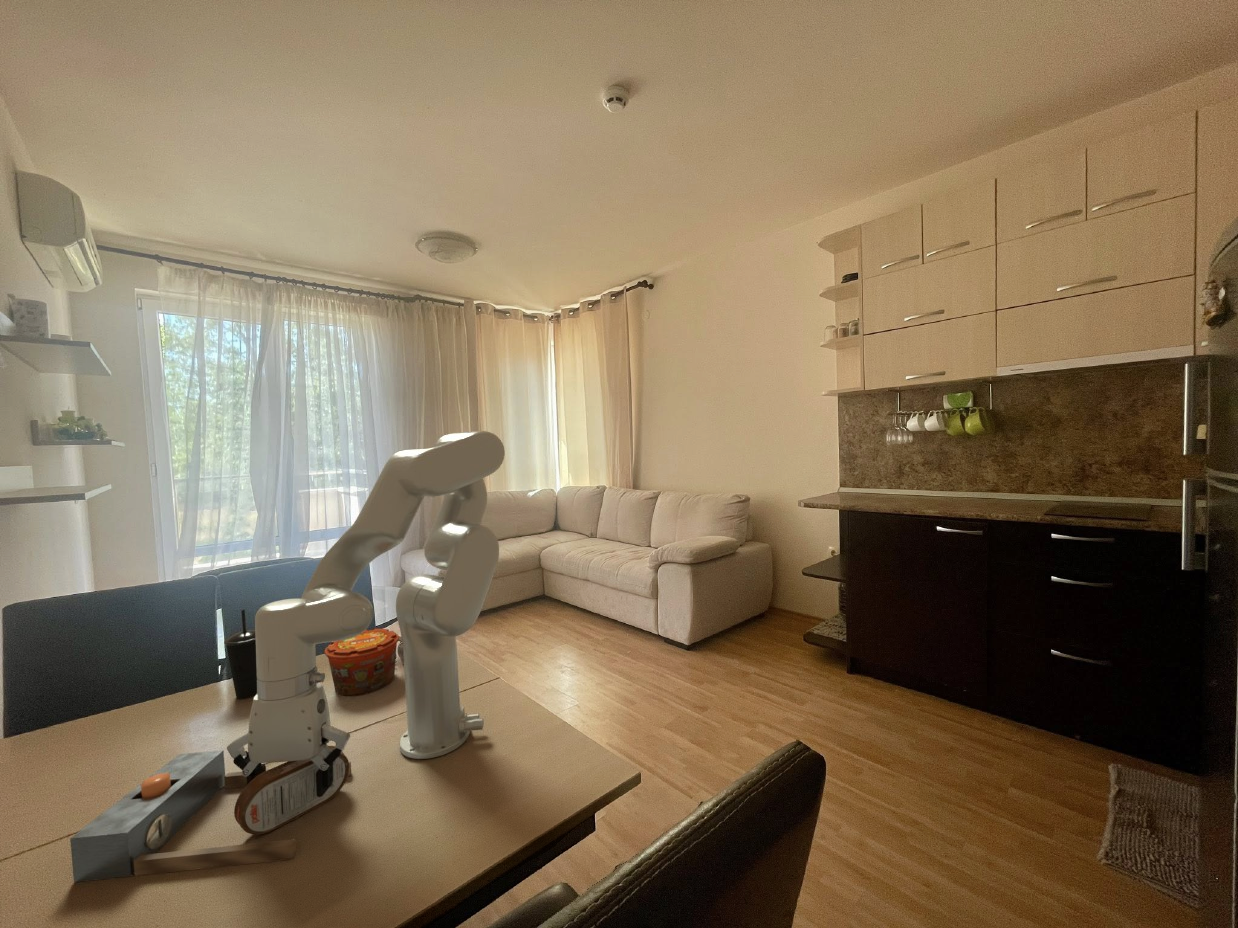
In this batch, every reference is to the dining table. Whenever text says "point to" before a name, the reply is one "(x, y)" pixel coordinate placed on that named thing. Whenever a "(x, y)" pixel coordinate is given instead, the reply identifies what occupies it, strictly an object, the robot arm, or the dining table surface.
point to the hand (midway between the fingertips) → (291, 793)
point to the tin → (285, 794)
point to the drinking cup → (243, 661)
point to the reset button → (155, 785)
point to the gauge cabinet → (146, 818)
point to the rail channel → (217, 849)
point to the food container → (363, 662)
